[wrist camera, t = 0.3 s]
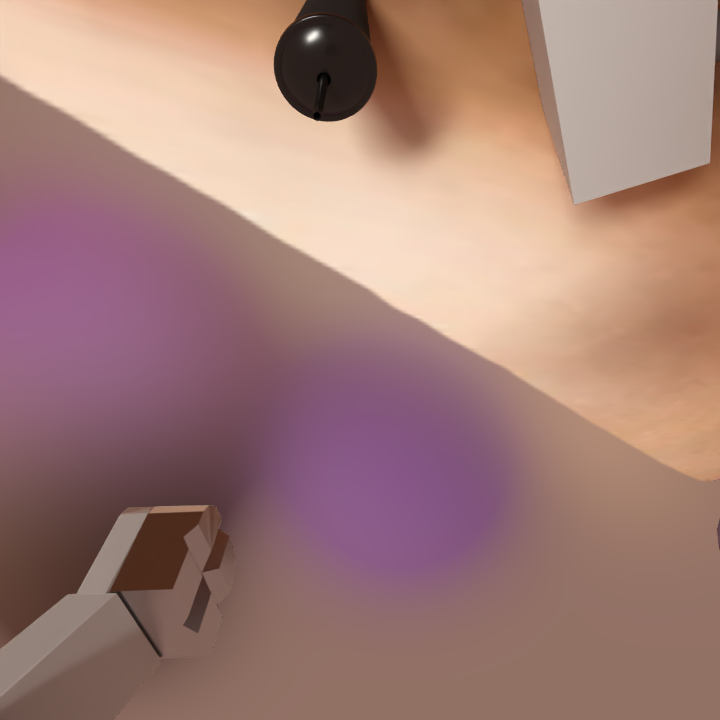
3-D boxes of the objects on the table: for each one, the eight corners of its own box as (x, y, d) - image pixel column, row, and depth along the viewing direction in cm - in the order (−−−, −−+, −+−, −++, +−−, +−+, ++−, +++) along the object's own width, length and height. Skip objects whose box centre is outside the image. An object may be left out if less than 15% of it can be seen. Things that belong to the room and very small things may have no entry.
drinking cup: (302, -62, 45) (265, 40, 33) (391, -35, 46) (388, 73, 34) (290, 35, 51) (254, 153, 38) (368, 57, 52) (359, 178, 40)
